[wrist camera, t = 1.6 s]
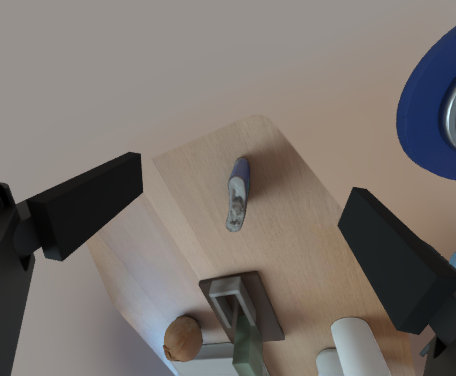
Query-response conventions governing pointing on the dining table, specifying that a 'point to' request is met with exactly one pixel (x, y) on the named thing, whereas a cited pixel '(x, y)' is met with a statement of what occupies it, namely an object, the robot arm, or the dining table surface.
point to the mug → (329, 363)
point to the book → (211, 362)
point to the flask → (238, 194)
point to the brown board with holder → (244, 317)
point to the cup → (358, 348)
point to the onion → (182, 339)
